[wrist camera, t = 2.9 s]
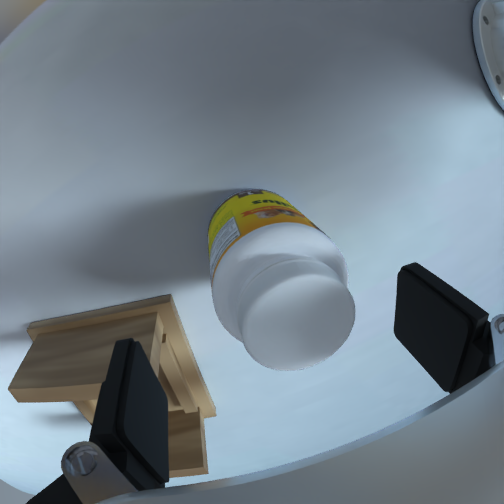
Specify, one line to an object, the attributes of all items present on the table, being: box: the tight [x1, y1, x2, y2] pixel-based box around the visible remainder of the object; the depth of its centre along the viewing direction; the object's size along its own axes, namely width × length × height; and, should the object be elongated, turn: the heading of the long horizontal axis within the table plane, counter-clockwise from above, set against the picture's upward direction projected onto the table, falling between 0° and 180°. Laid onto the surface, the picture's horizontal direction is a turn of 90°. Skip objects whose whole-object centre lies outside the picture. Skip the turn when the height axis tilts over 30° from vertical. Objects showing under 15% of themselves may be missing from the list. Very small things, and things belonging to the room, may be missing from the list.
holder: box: [8, 294, 216, 478], centre depth 19 cm, size 12×12×7 cm
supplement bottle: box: [208, 189, 355, 371], centre depth 15 cm, size 6×6×10 cm
